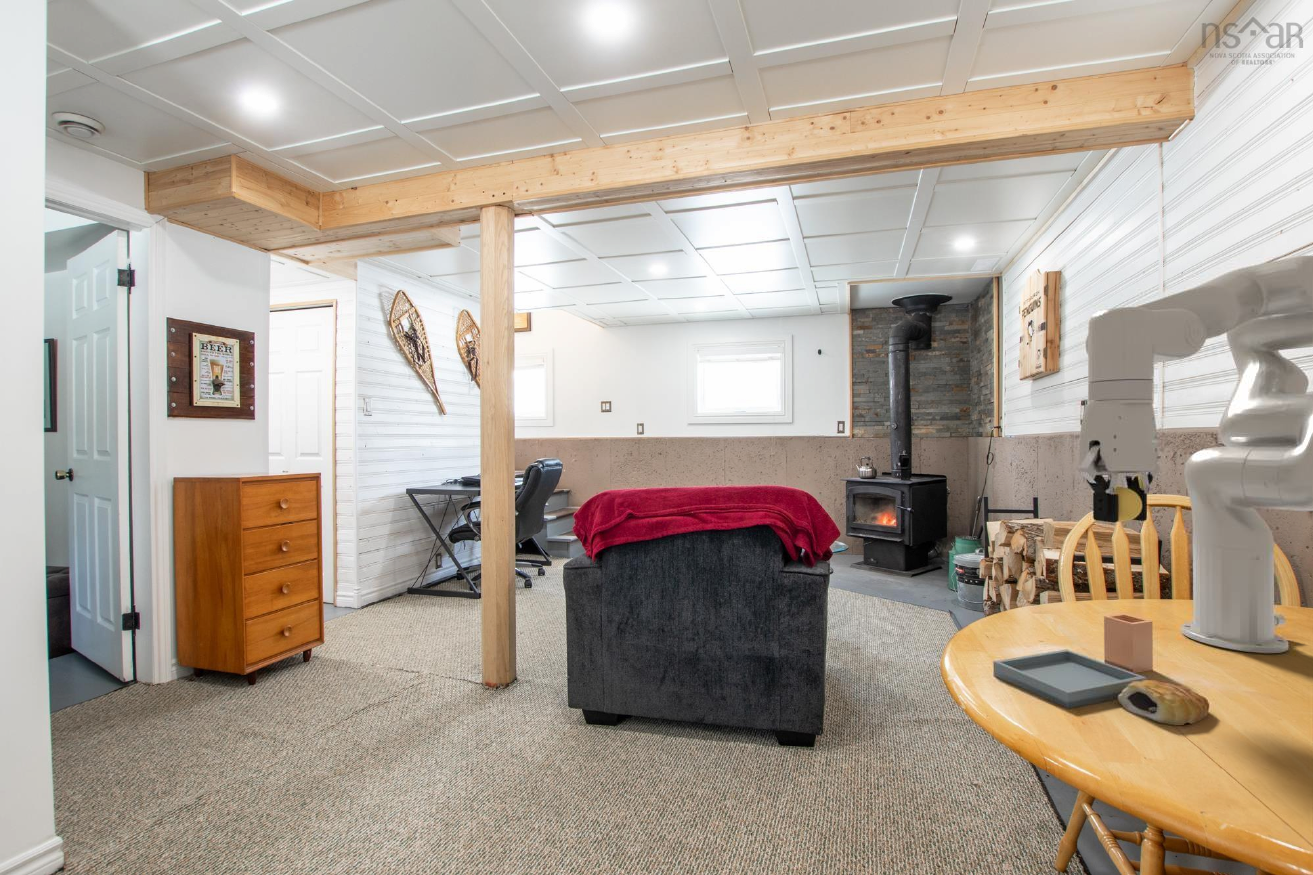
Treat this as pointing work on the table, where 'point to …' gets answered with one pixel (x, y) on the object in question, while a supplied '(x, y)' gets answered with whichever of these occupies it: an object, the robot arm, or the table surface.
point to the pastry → (1164, 702)
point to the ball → (1128, 504)
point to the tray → (1066, 677)
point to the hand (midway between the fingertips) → (1119, 519)
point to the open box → (1128, 642)
